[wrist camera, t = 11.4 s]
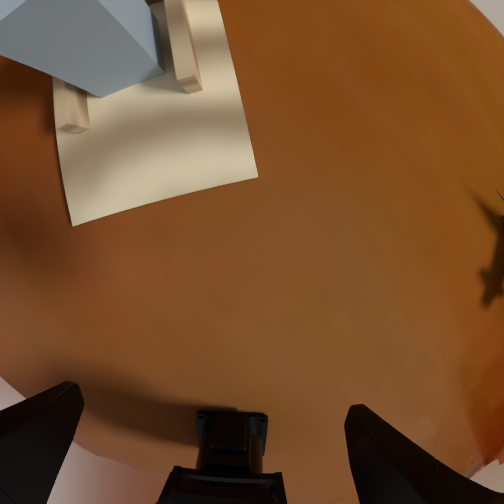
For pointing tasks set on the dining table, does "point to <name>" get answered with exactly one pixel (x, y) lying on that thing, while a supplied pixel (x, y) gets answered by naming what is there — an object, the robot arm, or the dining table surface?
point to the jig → (157, 123)
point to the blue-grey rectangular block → (84, 41)
